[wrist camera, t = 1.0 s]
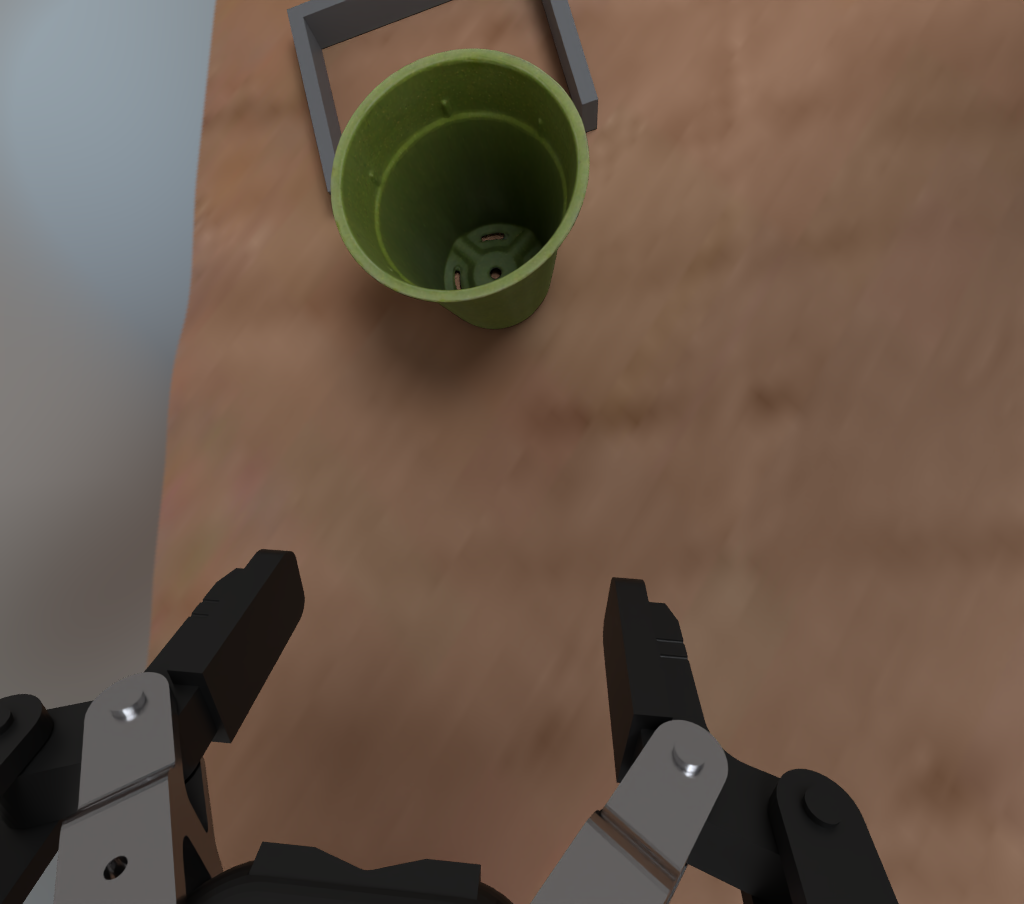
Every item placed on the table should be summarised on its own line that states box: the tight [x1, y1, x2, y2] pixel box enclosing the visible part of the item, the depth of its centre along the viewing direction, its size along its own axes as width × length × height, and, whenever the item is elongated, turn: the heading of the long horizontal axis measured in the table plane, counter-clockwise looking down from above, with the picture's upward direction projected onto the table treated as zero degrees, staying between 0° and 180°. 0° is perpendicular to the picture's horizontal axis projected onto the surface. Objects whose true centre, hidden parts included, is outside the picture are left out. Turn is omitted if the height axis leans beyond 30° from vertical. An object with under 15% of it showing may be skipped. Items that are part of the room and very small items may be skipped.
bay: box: [287, 0, 598, 195], centre depth 34 cm, size 18×14×2 cm
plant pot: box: [330, 49, 589, 329], centre depth 28 cm, size 12×12×11 cm
